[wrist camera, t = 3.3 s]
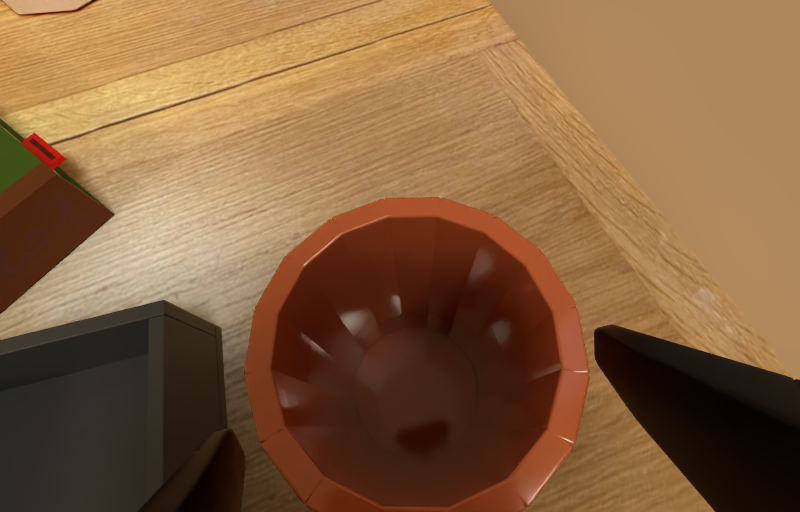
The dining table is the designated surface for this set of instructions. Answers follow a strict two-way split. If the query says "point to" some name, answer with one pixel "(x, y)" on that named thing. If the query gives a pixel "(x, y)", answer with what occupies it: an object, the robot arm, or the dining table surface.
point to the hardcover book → (38, 212)
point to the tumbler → (416, 363)
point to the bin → (106, 408)
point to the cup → (44, 5)
